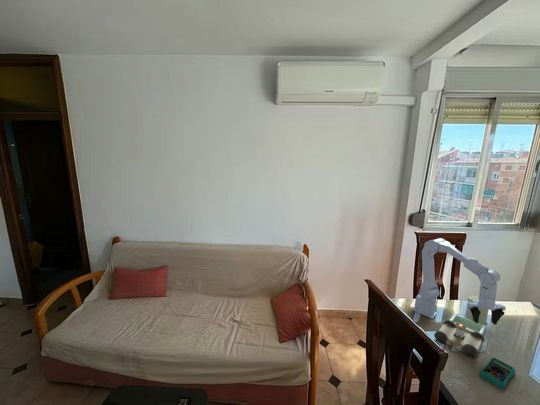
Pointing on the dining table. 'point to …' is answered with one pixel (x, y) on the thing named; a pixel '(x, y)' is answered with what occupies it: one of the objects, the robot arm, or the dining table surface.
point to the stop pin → (460, 330)
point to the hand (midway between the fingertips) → (484, 322)
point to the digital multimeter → (497, 372)
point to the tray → (468, 324)
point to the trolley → (467, 345)
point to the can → (483, 313)
